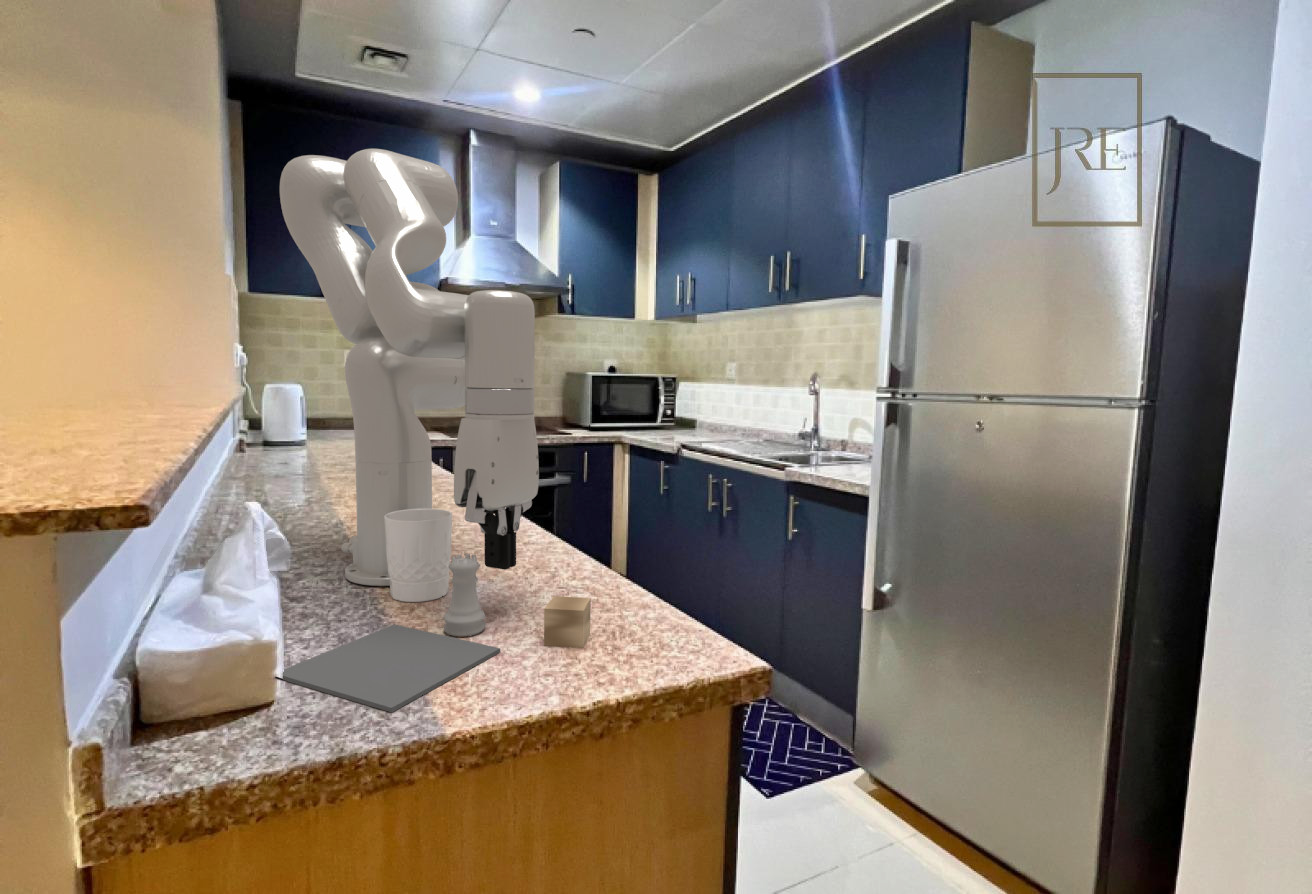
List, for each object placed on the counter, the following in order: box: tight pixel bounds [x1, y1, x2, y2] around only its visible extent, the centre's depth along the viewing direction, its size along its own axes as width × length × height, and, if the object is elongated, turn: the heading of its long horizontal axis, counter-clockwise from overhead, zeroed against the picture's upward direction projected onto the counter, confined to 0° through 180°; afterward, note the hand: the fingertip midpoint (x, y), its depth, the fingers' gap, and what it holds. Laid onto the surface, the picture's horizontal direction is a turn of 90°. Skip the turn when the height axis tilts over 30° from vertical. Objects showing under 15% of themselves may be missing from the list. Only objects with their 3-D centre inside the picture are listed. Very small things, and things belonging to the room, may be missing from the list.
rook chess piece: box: [442, 553, 487, 637], centre depth 74 cm, size 4×4×8 cm
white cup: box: [384, 508, 453, 603], centre depth 86 cm, size 8×8×10 cm
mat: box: [282, 623, 501, 713], centre depth 65 cm, size 14×14×1 cm
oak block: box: [543, 595, 592, 649], centre depth 72 cm, size 4×4×4 cm
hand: (500, 566), depth 79 cm, fingers closed
